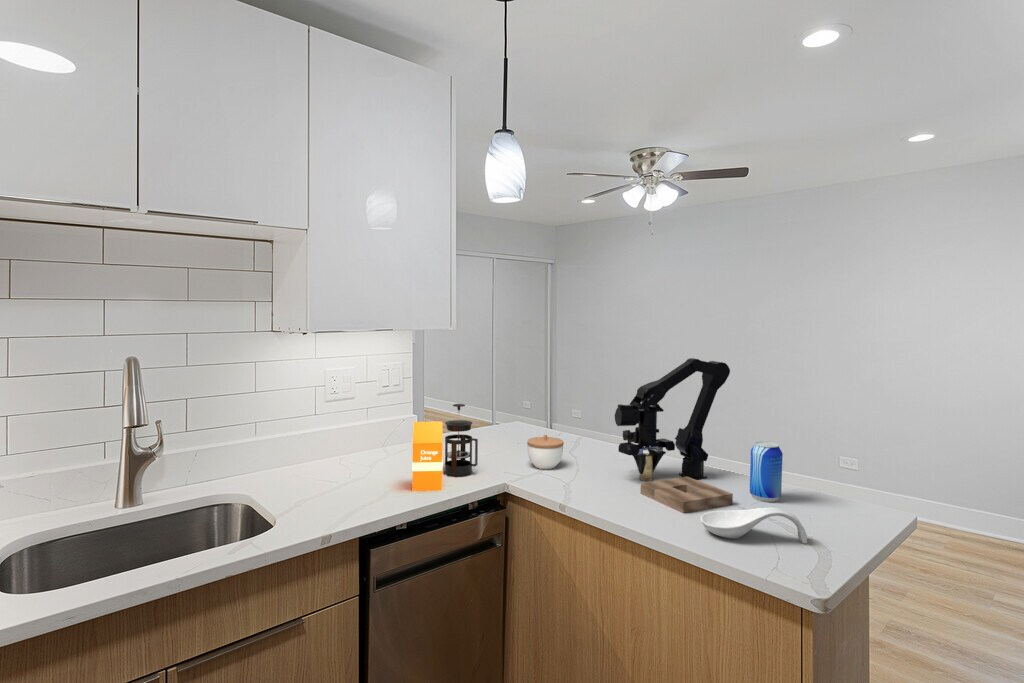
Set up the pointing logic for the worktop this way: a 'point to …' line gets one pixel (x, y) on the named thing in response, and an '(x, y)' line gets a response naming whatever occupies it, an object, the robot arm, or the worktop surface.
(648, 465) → the brass sleeve
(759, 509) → the spoon rest
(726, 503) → the walnut jig
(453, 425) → the french press
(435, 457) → the orange juice
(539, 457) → the lidded bowl
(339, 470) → the worktop surface
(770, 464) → the beer can
